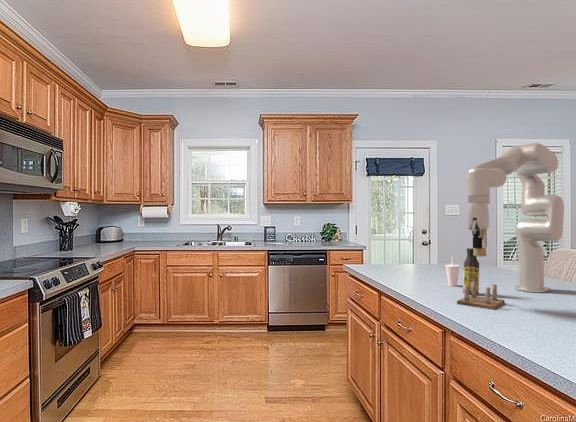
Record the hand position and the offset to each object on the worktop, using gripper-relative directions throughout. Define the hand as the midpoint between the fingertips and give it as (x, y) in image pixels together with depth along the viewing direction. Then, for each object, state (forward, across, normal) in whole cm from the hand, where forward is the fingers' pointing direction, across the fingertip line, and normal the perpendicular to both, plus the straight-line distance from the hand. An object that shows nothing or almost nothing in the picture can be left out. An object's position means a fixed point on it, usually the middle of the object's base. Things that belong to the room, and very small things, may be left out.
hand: (479, 247), depth 147 cm
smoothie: (+22, -29, -22) cm, 42 cm away
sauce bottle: (+22, -16, -9) cm, 29 cm away
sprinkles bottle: (+4, 0, 0) cm, 4 cm away
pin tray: (+22, 0, 0) cm, 22 cm away
